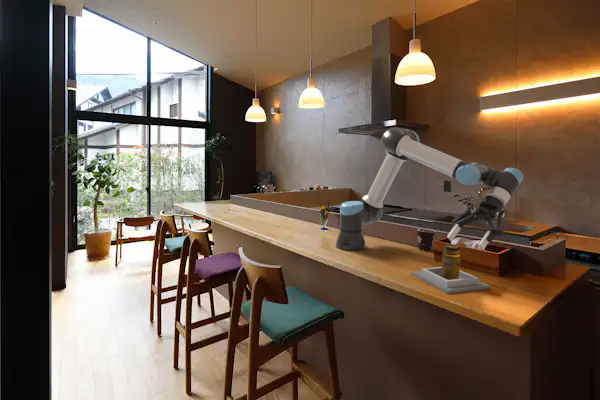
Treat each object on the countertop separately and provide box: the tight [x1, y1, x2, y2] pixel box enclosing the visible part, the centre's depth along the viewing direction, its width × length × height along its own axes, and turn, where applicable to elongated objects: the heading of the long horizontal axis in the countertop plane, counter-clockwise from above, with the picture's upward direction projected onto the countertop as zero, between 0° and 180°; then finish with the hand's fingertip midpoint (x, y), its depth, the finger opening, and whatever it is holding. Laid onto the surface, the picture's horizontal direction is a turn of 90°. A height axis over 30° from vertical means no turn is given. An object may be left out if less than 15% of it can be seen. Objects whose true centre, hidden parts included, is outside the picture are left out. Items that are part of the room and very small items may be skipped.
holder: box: [410, 266, 491, 294], centre depth 123 cm, size 20×18×3 cm
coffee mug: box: [416, 228, 436, 252], centre depth 170 cm, size 12×9×10 cm
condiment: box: [439, 244, 462, 280], centre depth 123 cm, size 7×8×12 cm
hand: (464, 242), depth 124 cm, fingers open, 13 cm apart
